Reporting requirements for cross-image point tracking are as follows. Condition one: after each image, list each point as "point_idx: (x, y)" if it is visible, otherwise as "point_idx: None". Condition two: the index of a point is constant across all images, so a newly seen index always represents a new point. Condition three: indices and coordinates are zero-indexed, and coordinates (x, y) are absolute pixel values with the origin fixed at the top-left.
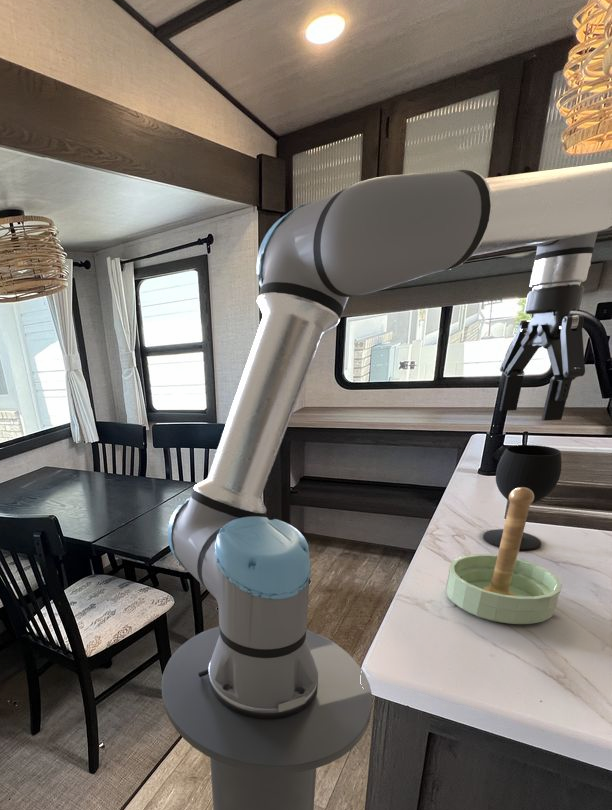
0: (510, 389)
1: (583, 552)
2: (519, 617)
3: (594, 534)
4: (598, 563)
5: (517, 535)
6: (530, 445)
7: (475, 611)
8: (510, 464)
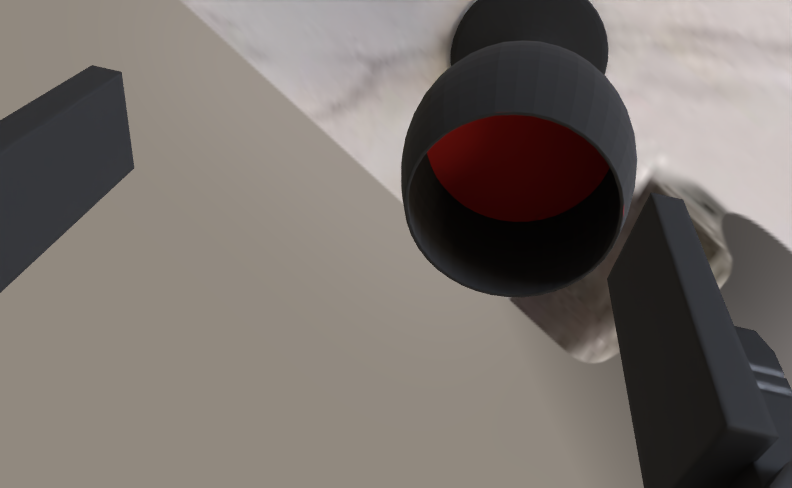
0: (669, 343)
1: None
2: None
3: None
4: (353, 149)
5: None
6: (590, 269)
7: None
8: (497, 76)
